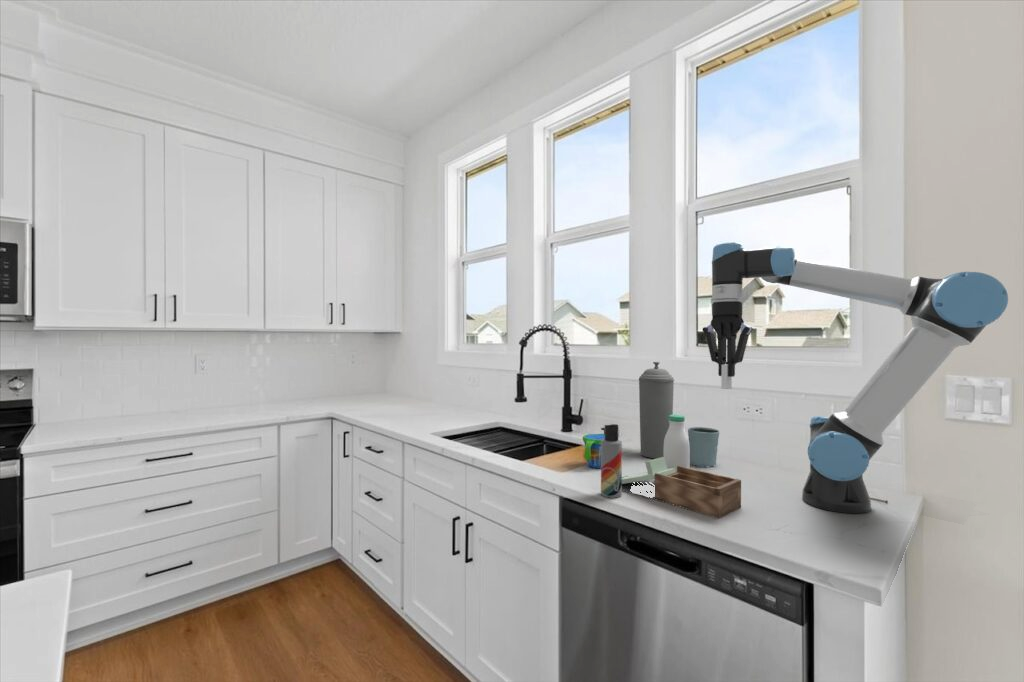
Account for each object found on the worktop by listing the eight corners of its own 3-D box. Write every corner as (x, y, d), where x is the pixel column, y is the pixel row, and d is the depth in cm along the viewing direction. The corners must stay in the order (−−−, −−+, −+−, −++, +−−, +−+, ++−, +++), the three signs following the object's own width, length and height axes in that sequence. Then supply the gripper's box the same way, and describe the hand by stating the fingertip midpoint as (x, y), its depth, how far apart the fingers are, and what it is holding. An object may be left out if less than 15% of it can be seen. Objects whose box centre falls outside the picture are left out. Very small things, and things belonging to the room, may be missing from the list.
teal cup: (682, 460, 174) (683, 427, 173) (709, 459, 175) (709, 426, 175) (696, 468, 164) (696, 432, 163) (725, 467, 165) (725, 432, 164)
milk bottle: (691, 484, 146) (691, 417, 146) (664, 482, 148) (665, 417, 147) (687, 476, 154) (687, 413, 153) (662, 475, 155) (662, 413, 155)
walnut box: (741, 507, 126) (741, 480, 126) (718, 518, 119) (718, 489, 119) (678, 490, 140) (678, 465, 140) (654, 499, 132) (654, 473, 132)
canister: (650, 450, 189) (650, 360, 189) (680, 456, 180) (680, 361, 179) (631, 455, 181) (631, 361, 180) (662, 462, 171) (662, 363, 171)
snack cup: (599, 459, 175) (599, 431, 175) (624, 464, 168) (624, 435, 168) (572, 467, 164) (572, 437, 164) (597, 473, 157) (597, 442, 157)
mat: (676, 489, 141) (676, 488, 141) (650, 498, 133) (650, 498, 133) (627, 476, 154) (627, 475, 154) (601, 484, 146) (601, 483, 146)
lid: (676, 472, 139) (671, 455, 140) (656, 478, 133) (651, 461, 134) (632, 478, 151) (628, 463, 152) (612, 485, 144) (608, 468, 145)
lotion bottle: (609, 499, 132) (609, 426, 132) (596, 493, 137) (597, 423, 137) (625, 496, 135) (626, 424, 135) (612, 490, 140) (612, 421, 140)
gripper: (697, 301, 133) (696, 387, 134) (745, 299, 124) (744, 391, 124) (710, 303, 138) (710, 385, 139) (758, 300, 128) (757, 389, 129)
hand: (726, 388), depth 131 cm, fingers closed
